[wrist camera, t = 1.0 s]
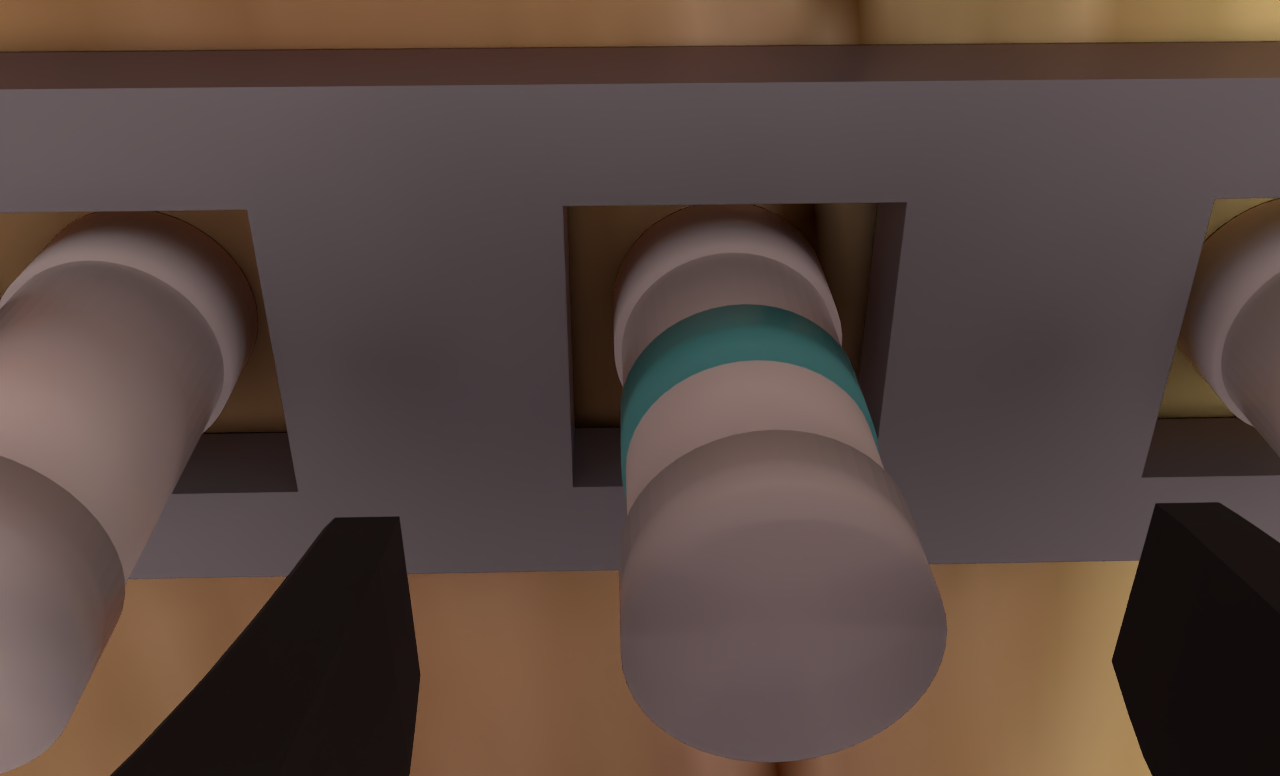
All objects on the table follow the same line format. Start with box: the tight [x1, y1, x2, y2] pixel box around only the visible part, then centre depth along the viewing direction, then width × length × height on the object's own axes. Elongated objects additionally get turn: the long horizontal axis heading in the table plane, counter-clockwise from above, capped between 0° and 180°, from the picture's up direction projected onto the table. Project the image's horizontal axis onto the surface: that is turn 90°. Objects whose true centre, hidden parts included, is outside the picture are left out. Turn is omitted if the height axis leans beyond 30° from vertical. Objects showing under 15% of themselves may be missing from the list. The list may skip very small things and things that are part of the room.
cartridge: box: [0, 211, 258, 773], centre depth 14 cm, size 3×3×7 cm
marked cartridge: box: [613, 204, 947, 762], centre depth 14 cm, size 3×3×7 cm
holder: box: [0, 42, 1280, 579], centre depth 16 cm, size 7×24×2 cm, turn 90°
